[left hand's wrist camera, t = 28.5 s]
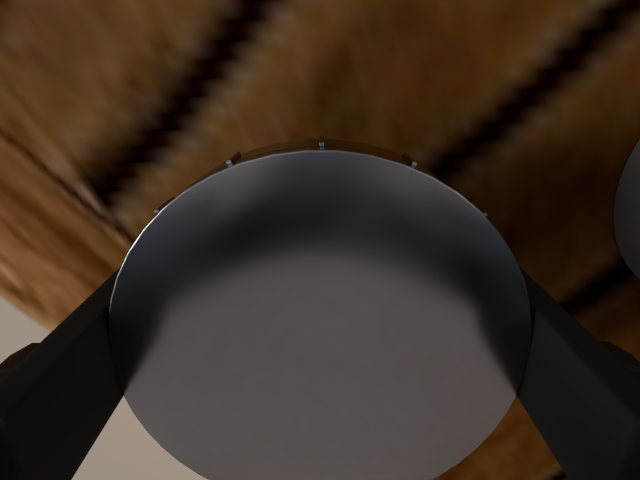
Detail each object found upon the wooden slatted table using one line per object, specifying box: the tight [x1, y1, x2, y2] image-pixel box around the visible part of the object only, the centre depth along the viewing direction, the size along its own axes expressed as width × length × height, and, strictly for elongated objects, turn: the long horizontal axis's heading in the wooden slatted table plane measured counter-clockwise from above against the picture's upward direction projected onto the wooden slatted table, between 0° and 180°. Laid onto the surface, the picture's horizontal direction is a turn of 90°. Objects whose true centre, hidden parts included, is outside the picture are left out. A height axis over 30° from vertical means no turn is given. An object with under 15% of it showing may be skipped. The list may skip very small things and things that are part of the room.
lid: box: [108, 136, 532, 480], centre depth 12 cm, size 11×11×2 cm
